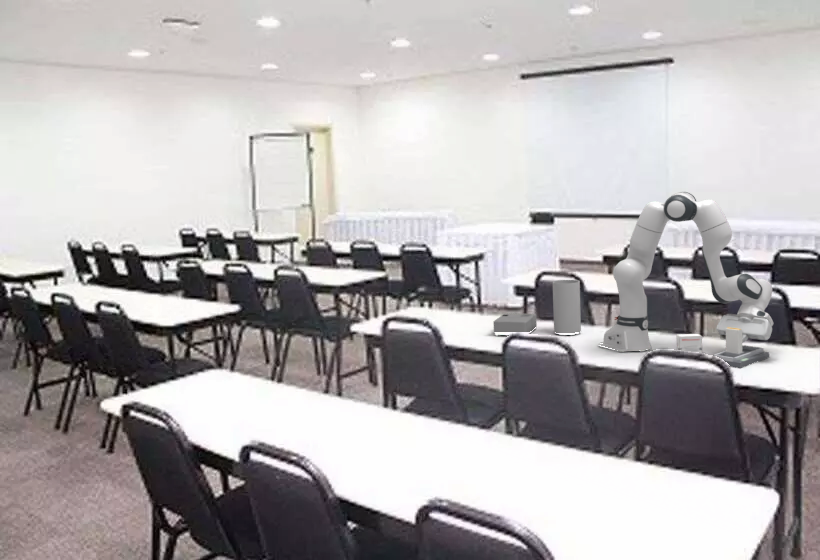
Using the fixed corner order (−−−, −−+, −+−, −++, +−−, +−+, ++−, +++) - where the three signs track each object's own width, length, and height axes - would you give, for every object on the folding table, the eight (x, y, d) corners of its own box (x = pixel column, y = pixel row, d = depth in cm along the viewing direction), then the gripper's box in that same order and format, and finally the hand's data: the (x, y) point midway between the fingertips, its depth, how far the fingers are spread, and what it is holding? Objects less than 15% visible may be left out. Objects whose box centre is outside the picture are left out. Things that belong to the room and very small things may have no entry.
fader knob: (723, 355, 286) (723, 328, 285) (729, 353, 289) (729, 326, 287) (738, 358, 281) (738, 329, 280) (744, 356, 284) (744, 328, 282)
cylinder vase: (559, 330, 361) (557, 279, 358) (584, 331, 355) (582, 280, 352) (550, 335, 350) (548, 283, 347) (576, 336, 344) (575, 283, 341)
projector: (537, 328, 369) (536, 313, 368) (527, 338, 349) (526, 321, 348) (504, 328, 375) (504, 312, 374) (492, 337, 355) (492, 321, 354)
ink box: (699, 363, 286) (699, 333, 285) (702, 366, 281) (702, 335, 280) (676, 363, 287) (675, 333, 286) (679, 366, 282) (679, 336, 281)
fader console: (707, 362, 286) (707, 354, 285) (737, 352, 299) (737, 344, 299) (740, 368, 276) (740, 359, 275) (769, 357, 289) (769, 348, 289)
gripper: (721, 308, 297) (708, 336, 292) (772, 314, 281) (759, 343, 276) (727, 317, 300) (714, 345, 296) (777, 323, 284) (765, 353, 280)
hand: (736, 344), depth 286 cm, fingers closed, pressing on fader knob
